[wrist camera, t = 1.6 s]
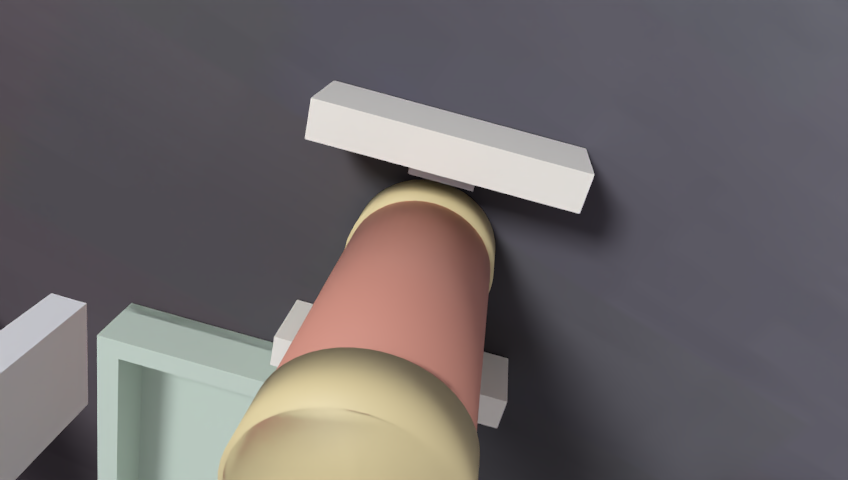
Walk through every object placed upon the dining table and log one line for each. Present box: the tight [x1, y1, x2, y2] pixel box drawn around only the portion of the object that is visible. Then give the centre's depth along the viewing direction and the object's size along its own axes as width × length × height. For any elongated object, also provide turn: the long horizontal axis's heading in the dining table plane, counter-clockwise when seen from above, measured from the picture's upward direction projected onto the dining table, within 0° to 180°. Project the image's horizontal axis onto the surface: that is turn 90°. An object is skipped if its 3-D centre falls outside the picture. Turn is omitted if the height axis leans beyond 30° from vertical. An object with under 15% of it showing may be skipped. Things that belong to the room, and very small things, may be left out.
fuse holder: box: [270, 81, 595, 428], centre depth 20 cm, size 8×9×2 cm
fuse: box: [218, 180, 495, 480], centre depth 16 cm, size 5×5×11 cm
